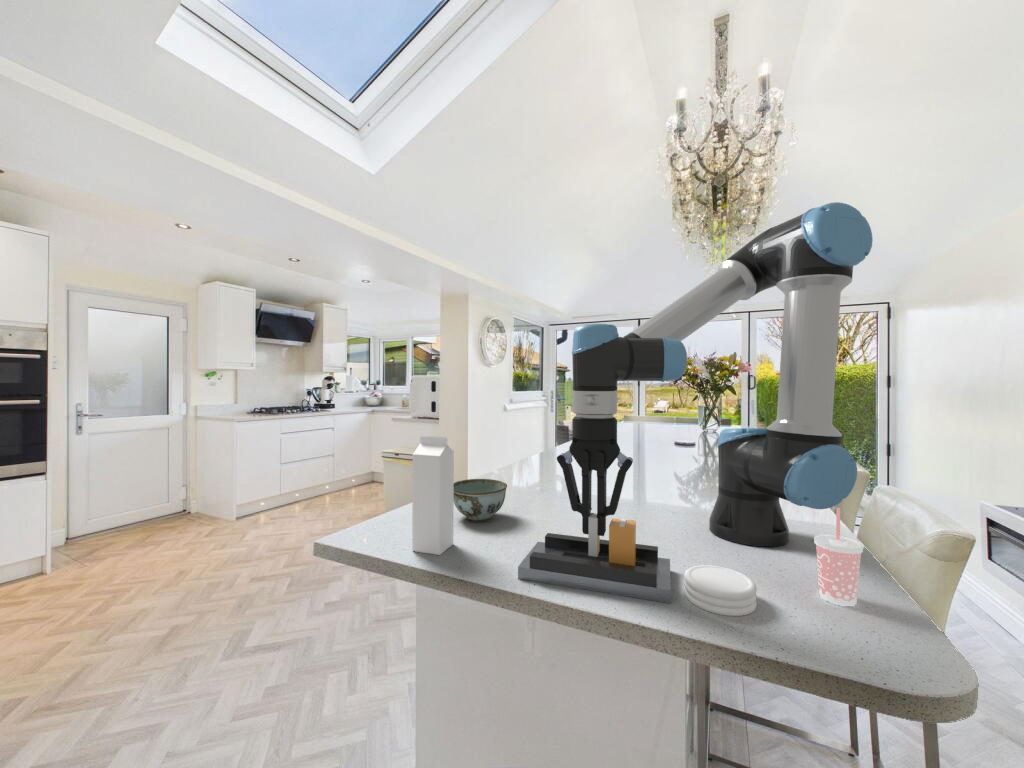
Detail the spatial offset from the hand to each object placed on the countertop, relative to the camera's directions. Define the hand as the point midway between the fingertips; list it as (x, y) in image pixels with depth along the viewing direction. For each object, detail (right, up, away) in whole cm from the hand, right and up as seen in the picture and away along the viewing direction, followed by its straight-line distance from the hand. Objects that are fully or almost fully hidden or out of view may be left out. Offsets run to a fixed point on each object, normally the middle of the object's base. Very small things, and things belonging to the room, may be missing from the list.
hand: (594, 553), depth 75 cm
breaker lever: (+4, -1, -2) cm, 5 cm away
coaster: (+18, -4, -8) cm, 20 cm away
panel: (0, -4, 0) cm, 4 cm away
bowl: (-22, -3, +30) cm, 37 cm away
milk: (-30, -4, +11) cm, 32 cm away
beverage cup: (+36, -4, -8) cm, 37 cm away
